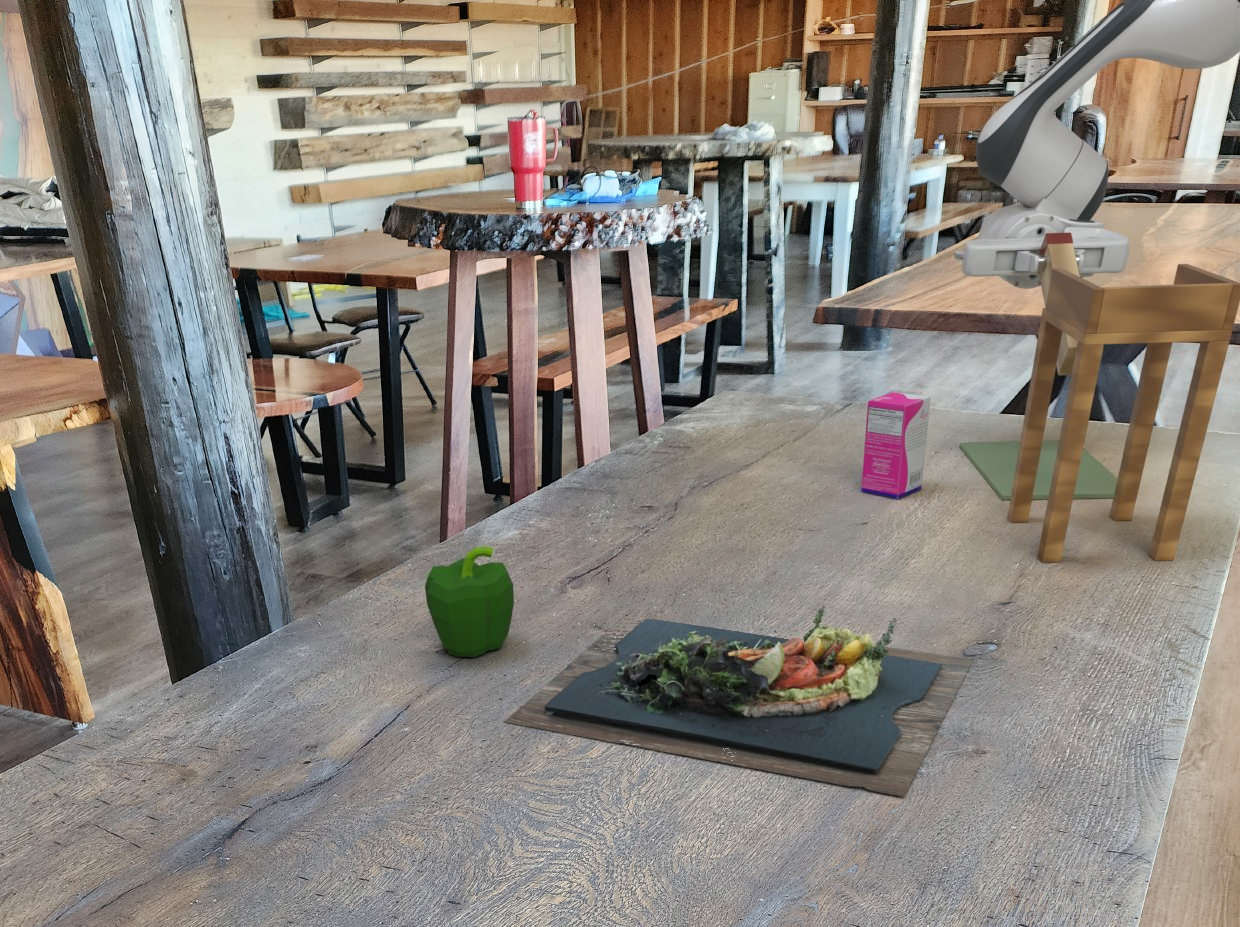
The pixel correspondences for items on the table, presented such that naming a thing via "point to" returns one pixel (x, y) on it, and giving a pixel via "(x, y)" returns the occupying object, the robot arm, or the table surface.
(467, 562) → the bell pepper
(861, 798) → the table surface
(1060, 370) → the maple bar
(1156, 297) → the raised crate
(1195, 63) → the robot arm
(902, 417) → the supplement box
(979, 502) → the table surface
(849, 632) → the plated dish
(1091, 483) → the rubber mat
